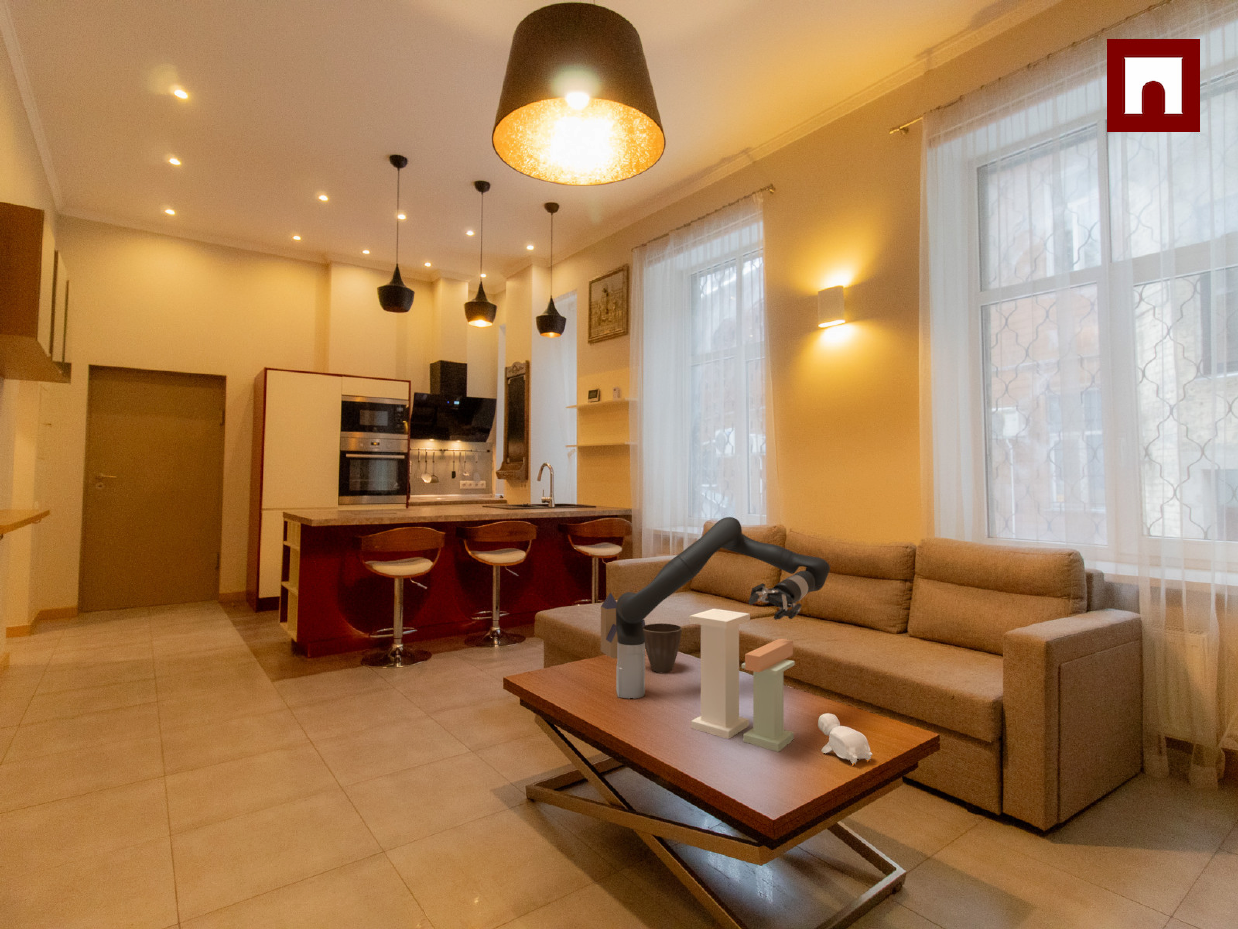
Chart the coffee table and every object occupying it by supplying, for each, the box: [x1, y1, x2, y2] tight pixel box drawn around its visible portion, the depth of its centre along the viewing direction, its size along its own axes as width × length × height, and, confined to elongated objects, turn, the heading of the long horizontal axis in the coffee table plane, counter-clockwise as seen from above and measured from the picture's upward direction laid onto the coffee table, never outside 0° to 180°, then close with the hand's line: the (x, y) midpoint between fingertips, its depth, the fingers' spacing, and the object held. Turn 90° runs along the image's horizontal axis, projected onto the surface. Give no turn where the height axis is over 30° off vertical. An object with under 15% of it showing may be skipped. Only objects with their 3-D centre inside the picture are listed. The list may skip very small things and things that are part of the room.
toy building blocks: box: [600, 592, 646, 659], centre depth 255 cm, size 12×19×25 cm, turn 111°
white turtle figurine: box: [817, 712, 873, 764], centre depth 158 cm, size 9×8×15 cm
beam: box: [744, 638, 794, 672], centre depth 167 cm, size 22×4×4 cm, turn 142°
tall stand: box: [688, 608, 751, 740], centre depth 176 cm, size 14×12×32 cm
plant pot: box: [643, 623, 683, 674], centre depth 230 cm, size 15×15×16 cm
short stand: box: [740, 659, 796, 753], centre depth 166 cm, size 12×10×21 cm
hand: (762, 609), depth 176 cm, fingers open, 8 cm apart
